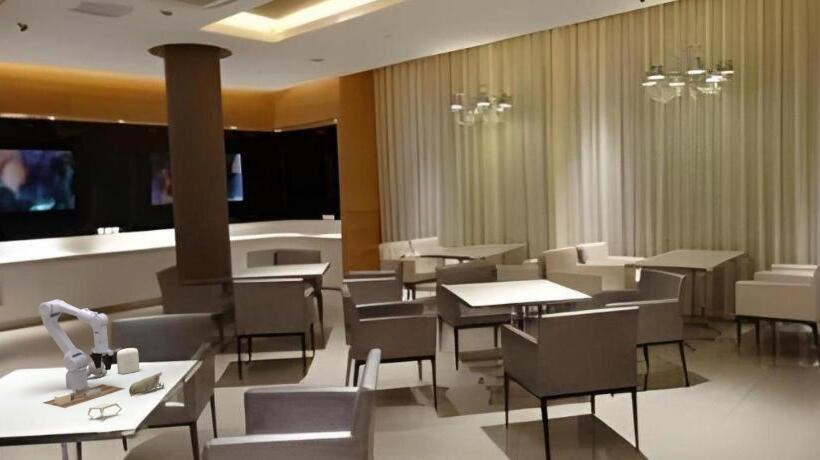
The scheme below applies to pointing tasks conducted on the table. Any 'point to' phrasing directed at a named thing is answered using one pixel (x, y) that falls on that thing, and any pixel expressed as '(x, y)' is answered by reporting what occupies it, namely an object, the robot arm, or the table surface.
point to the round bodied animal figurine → (96, 370)
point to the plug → (63, 398)
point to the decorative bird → (146, 384)
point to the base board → (79, 399)
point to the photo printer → (127, 361)
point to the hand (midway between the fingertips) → (103, 369)
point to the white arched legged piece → (103, 408)
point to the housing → (87, 392)
